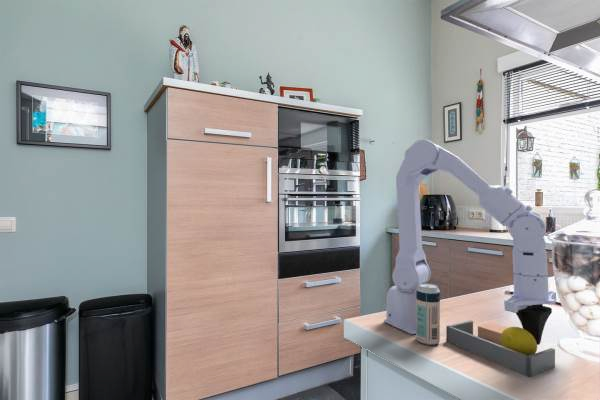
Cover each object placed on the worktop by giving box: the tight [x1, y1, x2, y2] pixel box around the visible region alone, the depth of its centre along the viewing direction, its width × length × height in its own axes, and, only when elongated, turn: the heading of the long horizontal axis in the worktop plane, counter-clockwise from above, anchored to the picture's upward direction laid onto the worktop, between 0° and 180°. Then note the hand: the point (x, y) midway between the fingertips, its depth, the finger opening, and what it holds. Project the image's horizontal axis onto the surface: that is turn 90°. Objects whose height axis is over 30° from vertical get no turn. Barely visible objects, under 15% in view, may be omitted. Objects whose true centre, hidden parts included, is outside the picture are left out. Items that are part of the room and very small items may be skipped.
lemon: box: [500, 326, 538, 356], centre depth 66 cm, size 6×6×8 cm
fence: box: [445, 320, 556, 378], centre depth 68 cm, size 17×8×3 cm, turn 28°
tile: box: [477, 321, 509, 345], centre depth 76 cm, size 5×5×2 cm
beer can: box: [415, 283, 441, 346], centre depth 73 cm, size 5×5×12 cm
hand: (533, 343), depth 68 cm, fingers closed, pressing on lemon
